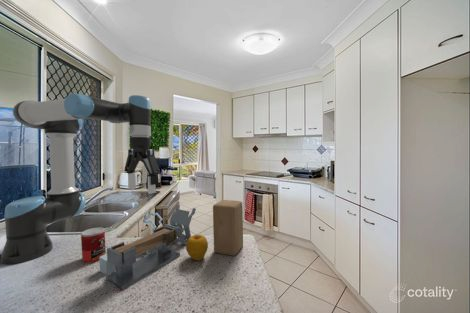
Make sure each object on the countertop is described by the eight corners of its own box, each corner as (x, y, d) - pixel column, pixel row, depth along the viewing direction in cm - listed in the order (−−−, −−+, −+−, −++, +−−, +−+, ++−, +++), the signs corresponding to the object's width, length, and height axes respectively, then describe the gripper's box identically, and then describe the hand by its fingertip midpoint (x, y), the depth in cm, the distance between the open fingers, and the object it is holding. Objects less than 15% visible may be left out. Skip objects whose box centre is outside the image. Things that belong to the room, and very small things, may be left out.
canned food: (94, 264, 75) (92, 235, 75) (76, 262, 77) (75, 234, 77) (110, 253, 83) (109, 227, 83) (94, 252, 85) (93, 226, 84)
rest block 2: (141, 250, 85) (141, 239, 85) (149, 247, 88) (149, 235, 88) (148, 254, 82) (148, 242, 82) (157, 249, 86) (156, 238, 85)
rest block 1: (99, 270, 71) (99, 256, 71) (111, 265, 75) (111, 251, 75) (106, 275, 69) (106, 260, 68) (118, 269, 72) (118, 255, 72)
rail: (114, 260, 65) (114, 249, 65) (165, 237, 82) (164, 228, 82) (120, 263, 63) (120, 252, 63) (171, 239, 80) (170, 230, 80)
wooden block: (213, 252, 82) (211, 204, 81) (223, 242, 91) (222, 199, 91) (235, 257, 78) (234, 207, 78) (244, 245, 88) (243, 200, 87)
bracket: (196, 239, 95) (196, 208, 94) (180, 248, 86) (179, 214, 86) (178, 233, 102) (177, 204, 101) (161, 241, 93) (160, 209, 93)
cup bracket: (105, 279, 66) (104, 247, 66) (163, 249, 85) (162, 224, 85) (122, 290, 61) (120, 256, 60) (179, 256, 80) (179, 229, 80)
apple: (184, 255, 81) (183, 233, 80) (205, 250, 84) (204, 229, 84) (188, 266, 73) (187, 242, 73) (210, 260, 76) (210, 238, 76)
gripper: (114, 137, 81) (115, 189, 82) (151, 135, 68) (152, 197, 68) (132, 138, 88) (133, 186, 88) (169, 136, 74) (170, 193, 75)
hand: (141, 191), depth 78 cm, fingers open, 13 cm apart
